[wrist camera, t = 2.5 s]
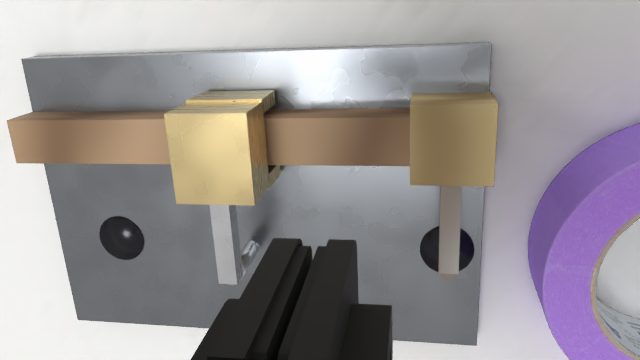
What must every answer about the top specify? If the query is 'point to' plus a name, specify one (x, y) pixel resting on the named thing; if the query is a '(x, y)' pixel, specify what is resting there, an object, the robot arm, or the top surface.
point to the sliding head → (222, 165)
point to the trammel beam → (305, 144)
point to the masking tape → (587, 247)
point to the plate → (277, 202)
